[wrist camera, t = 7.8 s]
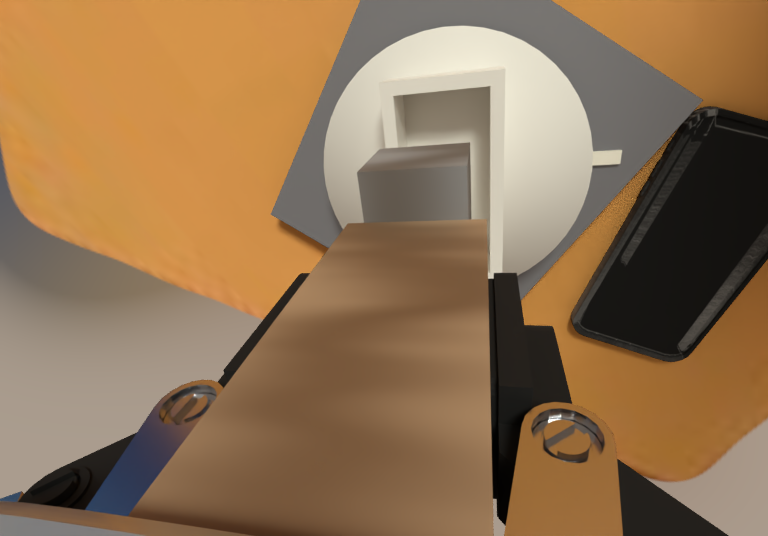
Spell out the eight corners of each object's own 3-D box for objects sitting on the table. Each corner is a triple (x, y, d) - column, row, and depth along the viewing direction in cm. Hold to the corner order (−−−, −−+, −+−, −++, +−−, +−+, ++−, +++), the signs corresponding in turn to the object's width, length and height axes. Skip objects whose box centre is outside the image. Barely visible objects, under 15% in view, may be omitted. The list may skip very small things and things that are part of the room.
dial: (314, 45, 23) (280, 46, 19) (599, 7, 19) (627, -1, 16) (352, 274, 29) (332, 311, 25) (572, 274, 26) (587, 316, 22)
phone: (859, 146, 21) (680, 366, 28) (842, 141, 22) (674, 355, 29) (698, 102, 21) (565, 330, 29) (688, 99, 22) (562, 320, 30)
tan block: (485, 141, 14) (495, 464, 3) (486, 322, 17) (492, 786, 6) (365, 149, 14) (65, 421, 4) (387, 320, 18) (249, 720, 7)
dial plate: (406, -90, 21) (400, -100, 19) (690, 96, 22) (705, 100, 20) (280, 206, 30) (269, 215, 28) (485, 326, 31) (485, 341, 29)
